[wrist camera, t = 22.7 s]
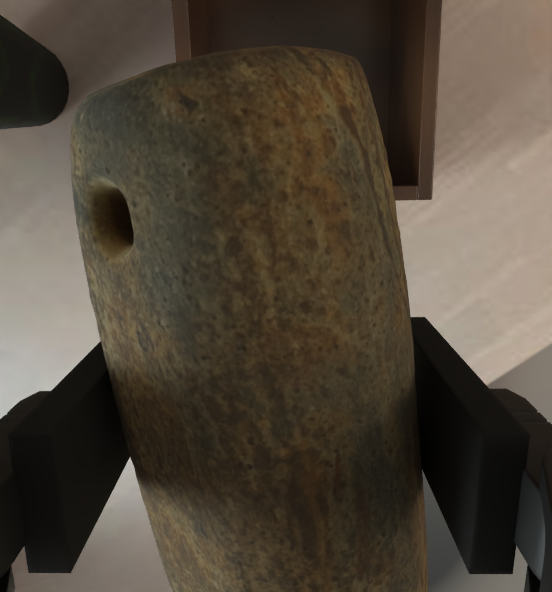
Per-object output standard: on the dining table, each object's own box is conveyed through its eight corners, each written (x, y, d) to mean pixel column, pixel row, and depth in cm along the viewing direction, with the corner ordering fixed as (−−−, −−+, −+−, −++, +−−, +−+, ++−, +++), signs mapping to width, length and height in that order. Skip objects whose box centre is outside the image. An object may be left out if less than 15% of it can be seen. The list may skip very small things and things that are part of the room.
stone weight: (81, 125, 14) (-96, 97, 7) (342, 62, 13) (400, -28, 7) (221, 587, 18) (185, 838, 11) (430, 550, 17) (521, 789, 11)
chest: (395, 189, 38) (432, 199, 29) (209, 194, 39) (185, 205, 29) (405, -125, 33) (454, -237, 24) (192, -118, 34) (157, -226, 24)
